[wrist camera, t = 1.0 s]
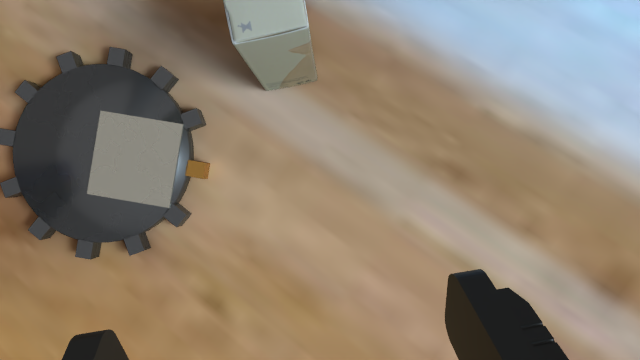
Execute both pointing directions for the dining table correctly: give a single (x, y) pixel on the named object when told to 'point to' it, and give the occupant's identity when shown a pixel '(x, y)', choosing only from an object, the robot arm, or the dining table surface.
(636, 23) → the dining table surface
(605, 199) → the dining table surface
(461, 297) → the robot arm
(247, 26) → the box
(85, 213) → the sprocket
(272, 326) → the dining table surface
